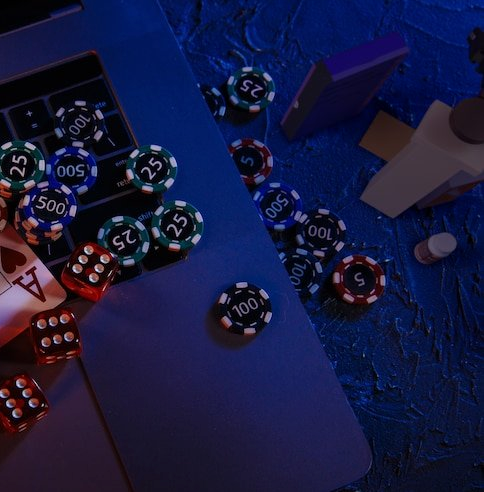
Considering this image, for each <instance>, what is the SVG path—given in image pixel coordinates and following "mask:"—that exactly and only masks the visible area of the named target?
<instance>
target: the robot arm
mask: <svg viewBox="0 0 484 492" xmlns="http://www.w3.org/2000/svg"><path fill="white" fill-rule="evenodd" d="M465 40H466V42H467V43H468V61H469V63H471V64H476V63H477V64H478V65H477V67H476V68H475V69H474V72H475V73H477V74H479V75H482V76H481V77H482V79H481V81H480V89H481V88H483V89H484V30H482V28H481V27H479V26H475V27H474V28H473V29H472V31H471V32H470V33H469V35H468V36H467V37H466V38H465Z"/></svg>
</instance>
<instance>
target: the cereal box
mask: <svg viewBox="0 0 484 492" xmlns="http://www.w3.org/2000/svg"><path fill="white" fill-rule="evenodd" d="M410 52H411V51H410V48H409V46H408V44H407V43H406V41H405V39H404V38H403V37H402V35H401V33H400V32H399V31H398V30H397V29H396V30H394V31H391V32H389V33H387V34H383V35H381V36H379V37H376V38H374V39H372V40H369V41H366V42H364V43H361V44H358V45H356V46H353V47H351V48H348V49H346V50H344V51H341V52H337V53H335V54H333V55H331V56H328V57H326V58H322V59H321V60H318V61H316V62H313V64H312V66H311V67H310V69H309V71H308V73H307V75H306V77H305V79H304V80H303V82H302V84H301V85H300V86H299V89H298V91H297V93H296V94H295V95H294V97H293V100H292V101H291V104H290V105H289V107H288V108H287V110H286V112H285V114H284V116H283V117H282V118H281V122H279V124H280V126H281V128H282V129H283V131H284V133H285V135H286V136H287V139H288V141H289V142H293V141H295V140H297V139H300V138H303V137H305V136H308V135H310V134H313V133H315V132H317V131H320V130H322V129H325V128H327V127H330V126H333V125H335V124H337V123H339V122H342V121H344V120H347V119H349V118H351V117H354V116H357V115H359V114H361V113H362V112H363V111H364V109H365V108H366V107H367V106H368V105H369V103H370V102H371V100H372V99H373V98H374V97H375V95H376V94H377V93H378V92H379V91H380V89H381V88H382V87H383V86H384V84H385V83H386V82H387V80H388V79H389V78H390V77H391V76H392V75H393V73H394V72H395V70H397V68H398V67H399V66H400V64H401V63H402V62H403V61H404V59H405V58H406V57H407V56H408V55H409V53H410Z"/></svg>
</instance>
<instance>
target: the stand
mask: <svg viewBox="0 0 484 492" xmlns="http://www.w3.org/2000/svg"><path fill="white" fill-rule="evenodd" d="M453 108H454V107H452V106H450V105H448V104H447V103H445V102H443V101H441V100H439V99H435V100H434V101H433V102H432V103H431V104H430V105H429V107H428V109H427V111H426V112H425V114H424V116H423V118H422V119H421V121H420V123H419V125H418V126H417V128H416V129H415V130H416V131H415V133H414V134H413V136H412V138H411V139H410V140H411V142H410V143H409V144H408V145H406V146H405V147H404V148H403V149H402V150H401V151H400V152H399V153H398V154H397V155H396V156H395V157H394V158H392V159H391V160H390V161H389V162H387V163H386V164H385V165H384V166H383V167H382V168H380V169H379V170H378V171H377V172H376V173H375V174H374V175H373V176H372V177H371V179H370V180H369V182H368V183H367V185H366V187H365V189H364V190H363V192H362V193H361V195H360V197H359V200H361V201H362V202H364V203H366V204H367V205H368V206H371V207H372V208H374V209H376V210H378V211H379V212H381V213H382V214H384V215H385V216H388V217H389V218H391V219H395V218H396V217H398V216H399V215H400V214H402V213H404V212H405V211H406V210H407V209H409V208H410V207H412V206H413V205H414V204H416V202H417V201H419V200H420V199H421V198H423V197H424V196H426V195H427V194H428V193H430V192H431V191H433V190H434V189H435V188H437V187H438V186H440V185H441V184H442V183H444V182H445V181H447V180H448V179H449V178H451V177H452V176H454V175H455V174H456V173H458V172H459V171H461V170H464V171H465V172H467V173H469V174H471V175H472V176H474V177H476V176H477V175H479V174H480V173H482V172H483V170H484V144H479V145H473V144H468V143H465V142H463V141H461V140H460V139H459V138H457V137H456V136H455V135H454V133H453V132H452V130H451V128H450V126H449V114H450V112H451V110H452V109H453Z"/></svg>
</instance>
